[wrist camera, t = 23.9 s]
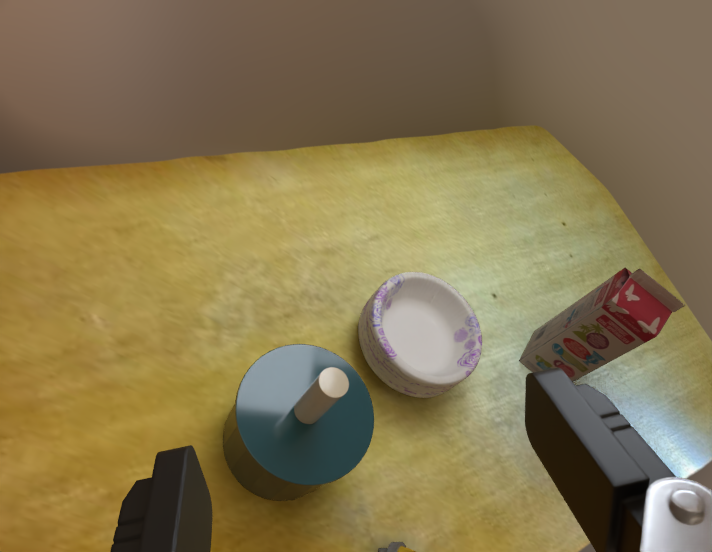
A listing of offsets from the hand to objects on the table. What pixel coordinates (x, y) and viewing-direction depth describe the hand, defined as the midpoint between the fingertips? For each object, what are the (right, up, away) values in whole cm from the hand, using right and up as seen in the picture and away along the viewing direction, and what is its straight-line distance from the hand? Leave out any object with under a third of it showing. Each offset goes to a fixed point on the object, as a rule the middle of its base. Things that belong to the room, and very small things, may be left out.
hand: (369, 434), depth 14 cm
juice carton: (+27, -9, +71) cm, 76 cm away
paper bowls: (+6, -6, +62) cm, 63 cm away
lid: (-5, -10, +43) cm, 44 cm away
